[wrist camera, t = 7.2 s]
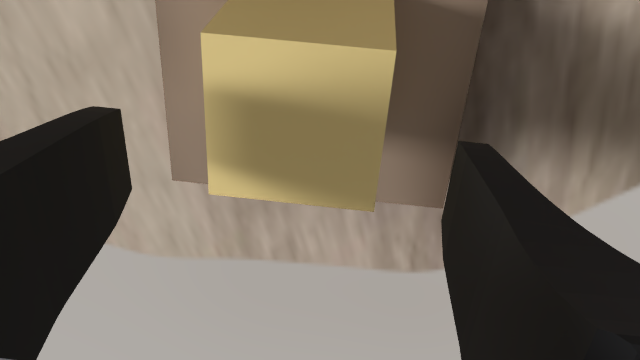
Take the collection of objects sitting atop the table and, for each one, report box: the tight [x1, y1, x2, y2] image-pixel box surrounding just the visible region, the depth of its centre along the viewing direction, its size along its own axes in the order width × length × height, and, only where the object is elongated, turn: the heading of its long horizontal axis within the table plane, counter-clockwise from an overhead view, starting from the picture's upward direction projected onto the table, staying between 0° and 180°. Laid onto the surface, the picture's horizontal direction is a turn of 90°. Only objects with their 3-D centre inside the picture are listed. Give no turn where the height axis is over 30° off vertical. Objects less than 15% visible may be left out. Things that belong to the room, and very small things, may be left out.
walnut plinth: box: [155, 0, 488, 208], centre depth 19 cm, size 10×10×2 cm
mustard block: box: [201, 0, 397, 212], centre depth 16 cm, size 4×4×5 cm
